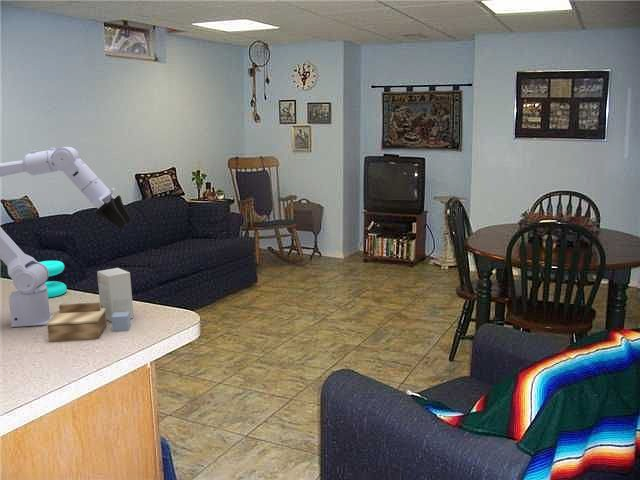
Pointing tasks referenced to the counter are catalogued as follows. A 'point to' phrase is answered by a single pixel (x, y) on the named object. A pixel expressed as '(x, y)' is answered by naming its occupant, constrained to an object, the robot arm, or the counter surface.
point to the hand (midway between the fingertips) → (125, 224)
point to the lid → (77, 314)
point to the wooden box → (77, 330)
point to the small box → (115, 292)
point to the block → (121, 321)
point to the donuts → (54, 286)
